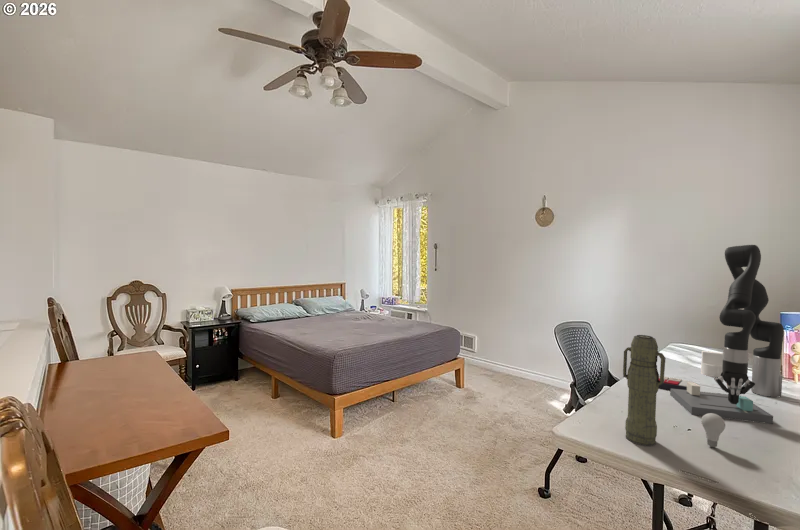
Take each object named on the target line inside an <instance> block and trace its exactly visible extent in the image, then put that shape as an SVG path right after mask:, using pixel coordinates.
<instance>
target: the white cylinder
mask: <svg viewBox="0 0 800 530" xmlns="http://www.w3.org/2000/svg"><path fill="white" fill-rule="evenodd" d="M700 361H701V362H700V374H701V375H703V376H705V375H706V376H705V377H711V378H715V377H716V378H717V377H720V376H721V373H722V365H723V352H717V351H709V350H708V351H707V350H701V360H700Z"/></svg>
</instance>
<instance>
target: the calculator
mask: <svg viewBox="0 0 800 530" xmlns="http://www.w3.org/2000/svg"><path fill="white" fill-rule="evenodd" d="M659 380H660V375H659ZM687 382H693V383H695V382H694V381H692V380H684V379H683V380H682V379H681V378H675V377H669V376H664V383H663V384H661V385H659V386H658V389H660V390H664V391H670V390H671V389H681V390H687Z"/></svg>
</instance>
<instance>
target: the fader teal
mask: <svg viewBox="0 0 800 530" xmlns="http://www.w3.org/2000/svg"><path fill="white" fill-rule="evenodd" d="M753 404H754V401H753V400H752V399H750V398H749V397H747V396H744V395H743V396H742V395H739V402H738V403H737V404H736V406H737V407H739V408H740V409H742V410H744V411H753Z"/></svg>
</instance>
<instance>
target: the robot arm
mask: <svg viewBox="0 0 800 530" xmlns="http://www.w3.org/2000/svg"><path fill="white" fill-rule="evenodd" d="M724 259H725V262H726V264H727V267H728V270H729V271H730V273H731V276H732V278H733V282H731V285H730V286H729V289H728V293H727V294H728V296H727V301H726V303H725V305H724V307H723V308H722V310H721V311H720V314H719V316H718V317H719V321H720V323H721V324H722V325H723V326H726V327H734V328H735V327H736V328H741V330H740V331H735V332H734V331H733V332H726V333H725V335H724V344H723V345H724V347H723V352H722V353H723V365H722V373H721V376H720V377H718V378H717V377H713V379H714V381H715V382H716V383H717V386H719V387H720V388H721V390H722V391H724V392H725V393H726V394H728V401H729V402H730V403H731V404H737V403H738V402H739V396H741V395H746V393H748V392H749V391H751V392H752V393H753V392H754V393H753V394H755V393H756V394H755V395H758V394H760V395H759V396H762V395H764V397H767V396H771V397H770V398H778V397H777V396H780V397H779V398H782V388H783V376H782V375H781V360H782V353H783V352H782V351H783V344H784V335H785V330H784V326H783V324H782V323H780V322H774V321H767V320H766V321H765V320H761V319H760V315H761V313H762V311H764V309H765V308H766V307H767V305H768V303H769V295H768V292H767V290H766V287H765V286H764V284H762V282H760V281H759V280H758V279H756V278H757V275H758V271H759V269H760V265H761V260H762V253H761V249H760V247H759V246H758V245H756V244H746V245H745V244H744V245H743V244H742V245H734V246H728V247H727V248H726V249H725V250H724ZM743 268H745V270H744V269H743ZM750 336H751V338H752V339H754V340H756V341H760V342H766V343H769V344H768V346H765V347H763V346H762V347H756V348H755V347H754V349H753V350H752V351H753V352H752V368H751V369H752V373H751V379H749V376H748V371H749V361H750V360H749V340H750ZM724 382H725V383H726V384H724Z"/></svg>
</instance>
